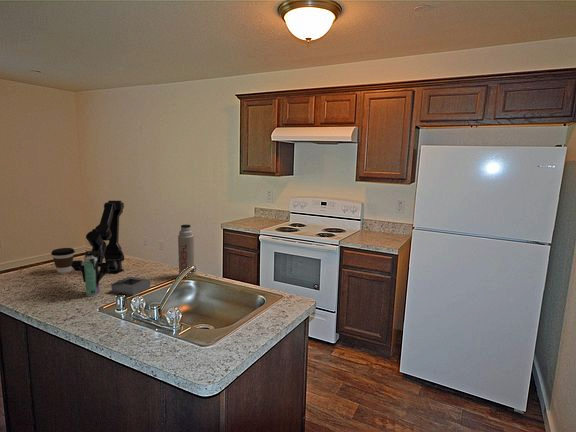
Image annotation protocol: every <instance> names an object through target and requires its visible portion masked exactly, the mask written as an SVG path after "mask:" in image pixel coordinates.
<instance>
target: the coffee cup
mask: <svg viewBox="0 0 576 432" xmlns="http://www.w3.org/2000/svg"><path fill="white" fill-rule="evenodd" d="M75 252H76V251H75V250H74V248H72V247H61V248H55V249H53V250H52V251H51V253H50V254H51V256H52V258H53V262H54V266H55V268H56V272H57V273H59V274H67V273H70V272H71V271H72V269H73V267H72V266H71V263H72V261H74V254H75Z"/></svg>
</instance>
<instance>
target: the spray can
mask: <svg viewBox="0 0 576 432" xmlns="http://www.w3.org/2000/svg"><path fill="white" fill-rule="evenodd" d="M83 262H84V269H85V282H84V283H85V294H86V297H88V298H91V297H97V296H99V295H101V294H100V292H101V291H100V281H99V282H97V279H98V275H99V267H98V259H97V257H94V256H93V255H92V252H91V253H88V256H87V257H85V256H84V258H83Z"/></svg>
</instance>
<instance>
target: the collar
mask: <svg viewBox="0 0 576 432" xmlns="http://www.w3.org/2000/svg"><path fill="white" fill-rule="evenodd" d="M150 288H151V279H148V278H143V277H136V276H127V277H126V278H122V279H120V280H118V281H116V282H114V283H111V293H113V294H118V295H120V294H119V293H122V294H121V295H124V294H126V295H125V296H130V297H131V296H132V297H133V295H134V296H136V295H138V294H140V293H142V292H144V291H145V290H146V291H147V289H150ZM141 291H142V292H141ZM139 292H140V293H139ZM137 293H138V294H137ZM135 294H136V295H135Z"/></svg>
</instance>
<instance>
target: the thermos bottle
mask: <svg viewBox="0 0 576 432" xmlns="http://www.w3.org/2000/svg"><path fill="white" fill-rule="evenodd" d="M194 237H195V236H194V234H193V231H192V230H191V224H181V225H180V230H179V232H178V235H177V244H178V245H177V247H178V248H177V249H178V250H177V252H178V275H179V274H180V273H181V272H182V271H183V270H184V269H186V268H187V267H189V266H194V267H195V244H194V242H195V240H194V239H195V238H194ZM193 275H194V276H195V271H194V272H191V273H189V274H188V275H187V276H186V277H188V276H193Z"/></svg>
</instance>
